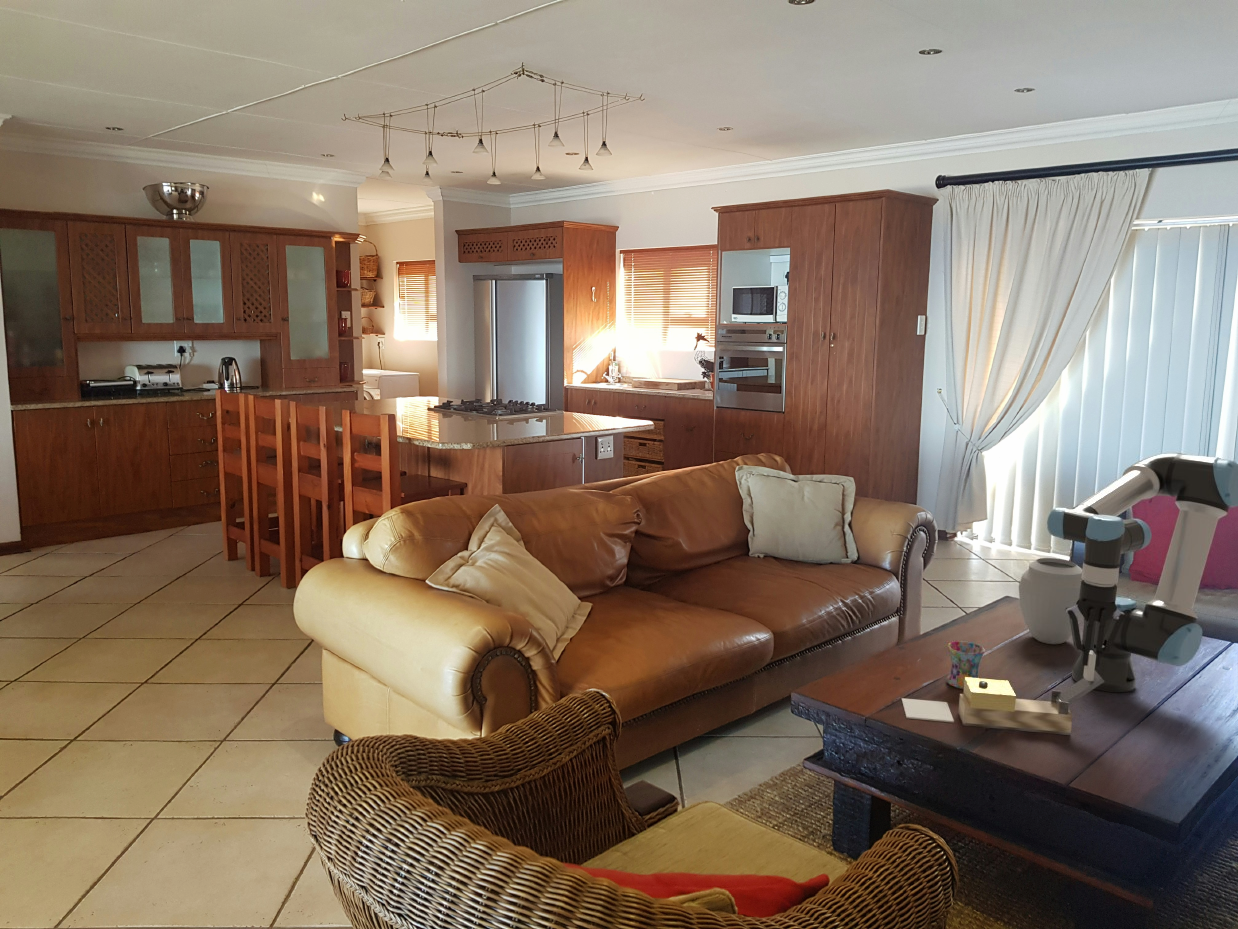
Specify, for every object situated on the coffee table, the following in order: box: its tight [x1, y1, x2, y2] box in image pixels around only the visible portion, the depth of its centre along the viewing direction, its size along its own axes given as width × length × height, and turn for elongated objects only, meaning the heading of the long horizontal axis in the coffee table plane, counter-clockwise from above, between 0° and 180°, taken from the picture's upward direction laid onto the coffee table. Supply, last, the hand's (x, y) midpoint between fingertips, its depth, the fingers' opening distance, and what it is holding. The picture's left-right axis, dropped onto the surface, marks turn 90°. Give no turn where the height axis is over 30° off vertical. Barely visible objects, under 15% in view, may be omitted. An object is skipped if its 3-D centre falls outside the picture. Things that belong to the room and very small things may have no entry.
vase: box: [1018, 557, 1084, 645], centre depth 276 cm, size 20×20×24 cm
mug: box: [946, 640, 986, 690], centre depth 243 cm, size 12×9×11 cm
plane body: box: [957, 689, 1073, 736], centre depth 220 cm, size 24×7×8 cm, turn 79°
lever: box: [1054, 671, 1105, 706], centre depth 216 cm, size 1×5×12 cm
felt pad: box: [901, 697, 955, 723], centre depth 227 cm, size 11×11×1 cm
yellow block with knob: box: [962, 677, 1017, 712], centre depth 221 cm, size 10×9×5 cm
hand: (1088, 678), depth 216 cm, fingers closed
